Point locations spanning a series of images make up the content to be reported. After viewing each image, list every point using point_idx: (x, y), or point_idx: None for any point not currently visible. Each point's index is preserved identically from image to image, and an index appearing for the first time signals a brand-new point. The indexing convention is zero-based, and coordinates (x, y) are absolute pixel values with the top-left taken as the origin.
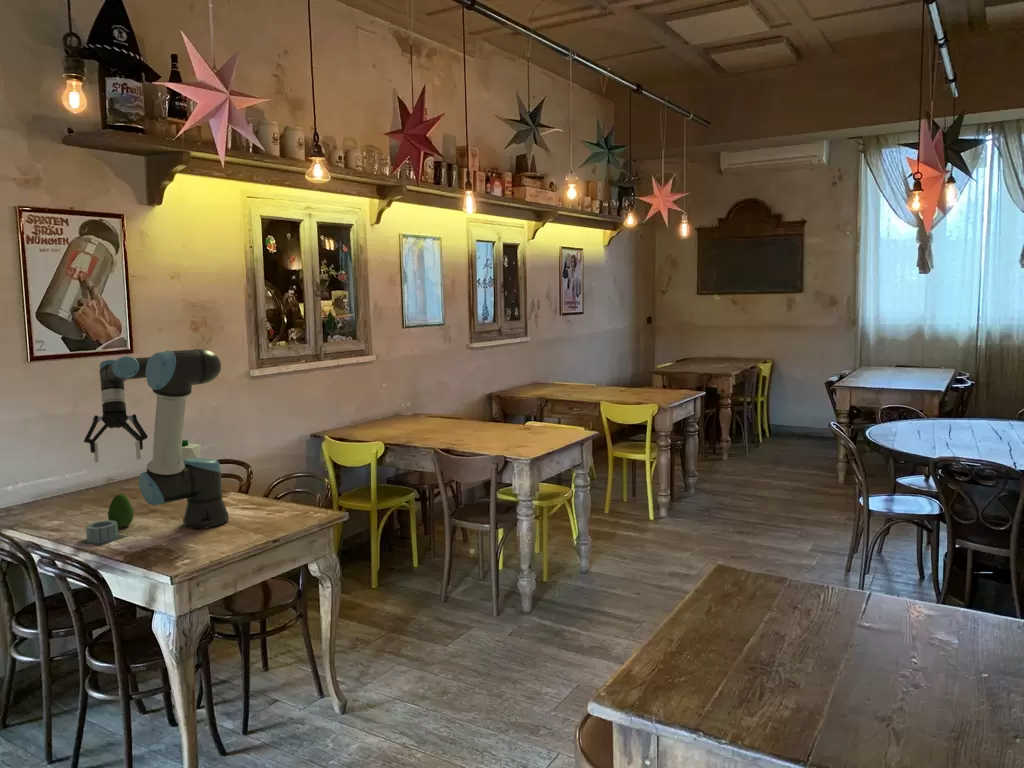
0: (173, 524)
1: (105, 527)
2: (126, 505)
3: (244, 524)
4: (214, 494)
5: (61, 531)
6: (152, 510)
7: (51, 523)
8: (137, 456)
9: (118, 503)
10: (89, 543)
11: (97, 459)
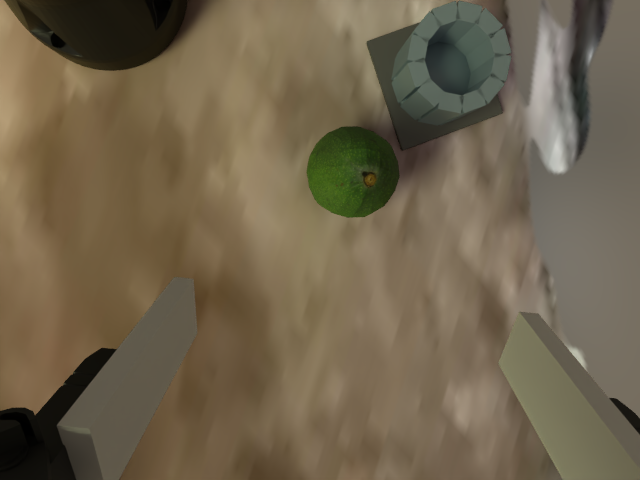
0: (203, 69)
1: (464, 2)
2: (344, 132)
3: None
4: None
5: (486, 287)
6: None
7: (477, 403)
8: (186, 317)
9: (376, 140)
10: None
11: (534, 320)
